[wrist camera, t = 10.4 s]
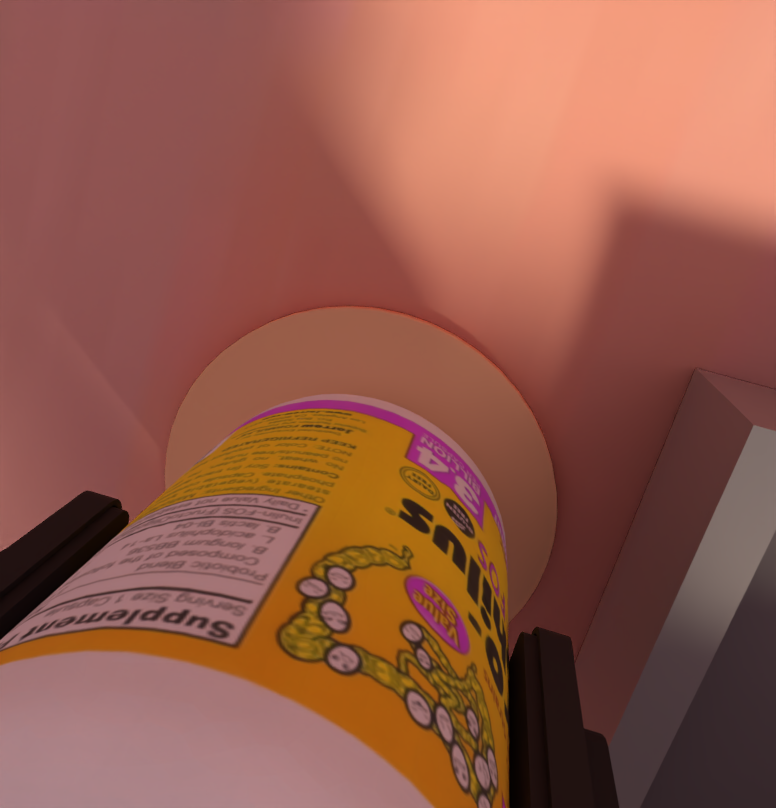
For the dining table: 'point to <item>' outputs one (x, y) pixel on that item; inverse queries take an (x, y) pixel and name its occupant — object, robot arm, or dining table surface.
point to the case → (694, 614)
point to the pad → (395, 383)
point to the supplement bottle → (278, 632)
